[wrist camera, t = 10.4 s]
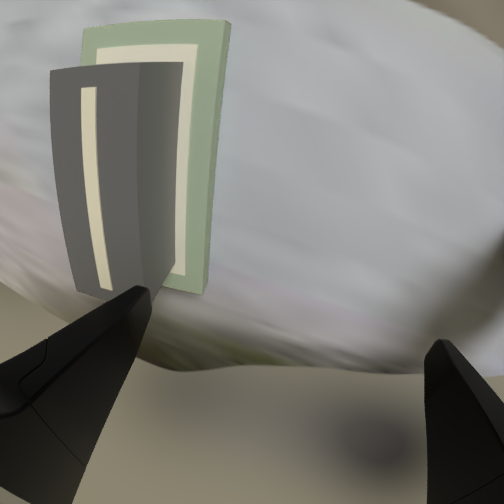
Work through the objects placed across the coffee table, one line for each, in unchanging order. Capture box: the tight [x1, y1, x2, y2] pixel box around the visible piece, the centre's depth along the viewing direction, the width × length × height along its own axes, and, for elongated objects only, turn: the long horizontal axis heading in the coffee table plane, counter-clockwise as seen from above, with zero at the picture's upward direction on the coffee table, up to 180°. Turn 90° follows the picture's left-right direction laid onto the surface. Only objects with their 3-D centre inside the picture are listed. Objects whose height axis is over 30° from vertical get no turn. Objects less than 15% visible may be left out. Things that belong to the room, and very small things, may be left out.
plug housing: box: [50, 62, 184, 303], centre depth 16 cm, size 5×13×5 cm, turn 173°
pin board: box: [81, 19, 231, 295], centre depth 18 cm, size 9×18×4 cm, turn 173°
